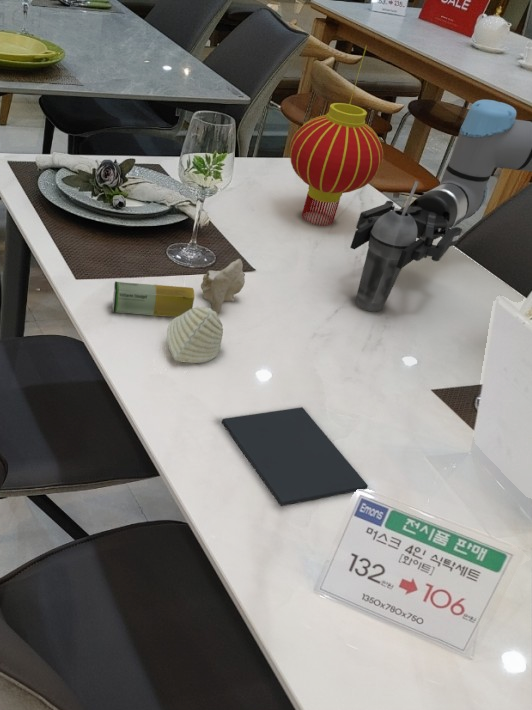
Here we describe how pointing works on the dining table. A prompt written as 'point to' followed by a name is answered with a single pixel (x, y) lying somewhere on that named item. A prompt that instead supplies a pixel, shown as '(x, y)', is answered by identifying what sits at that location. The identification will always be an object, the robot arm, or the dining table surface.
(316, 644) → the dining table surface
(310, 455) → the mat
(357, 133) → the lantern
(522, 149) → the robot arm
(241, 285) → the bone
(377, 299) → the beverage cup
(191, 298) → the medication box
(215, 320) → the seashell
